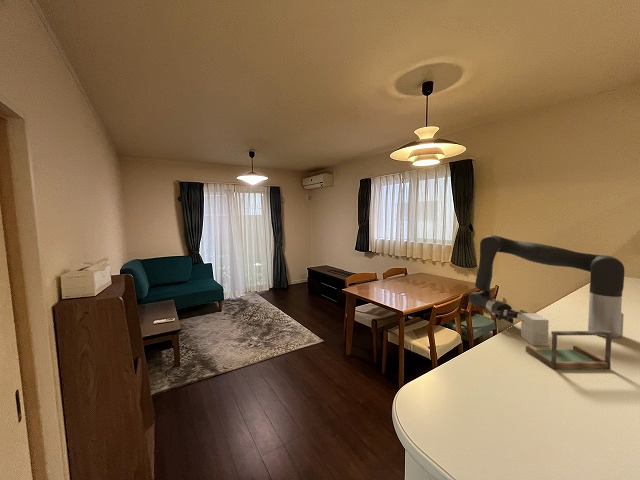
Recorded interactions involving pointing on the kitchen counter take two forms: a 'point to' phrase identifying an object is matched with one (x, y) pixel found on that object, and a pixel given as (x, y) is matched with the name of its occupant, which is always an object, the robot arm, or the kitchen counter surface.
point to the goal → (573, 353)
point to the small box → (534, 329)
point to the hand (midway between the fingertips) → (522, 321)
